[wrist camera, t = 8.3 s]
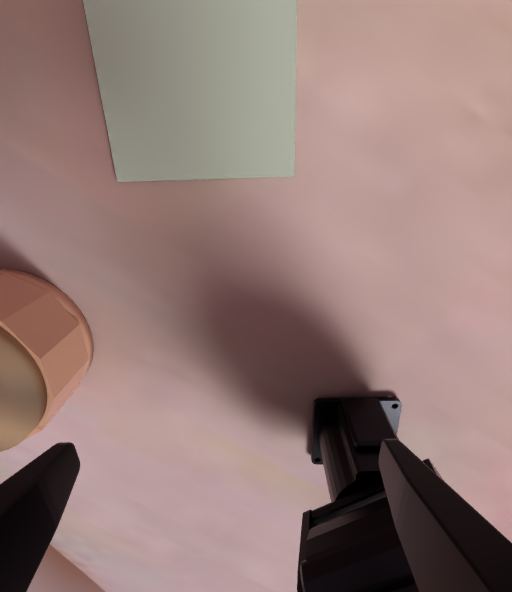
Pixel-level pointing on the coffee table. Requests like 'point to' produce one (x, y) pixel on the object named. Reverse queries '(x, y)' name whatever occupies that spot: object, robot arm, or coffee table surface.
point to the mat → (197, 86)
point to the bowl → (47, 334)
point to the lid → (19, 392)
